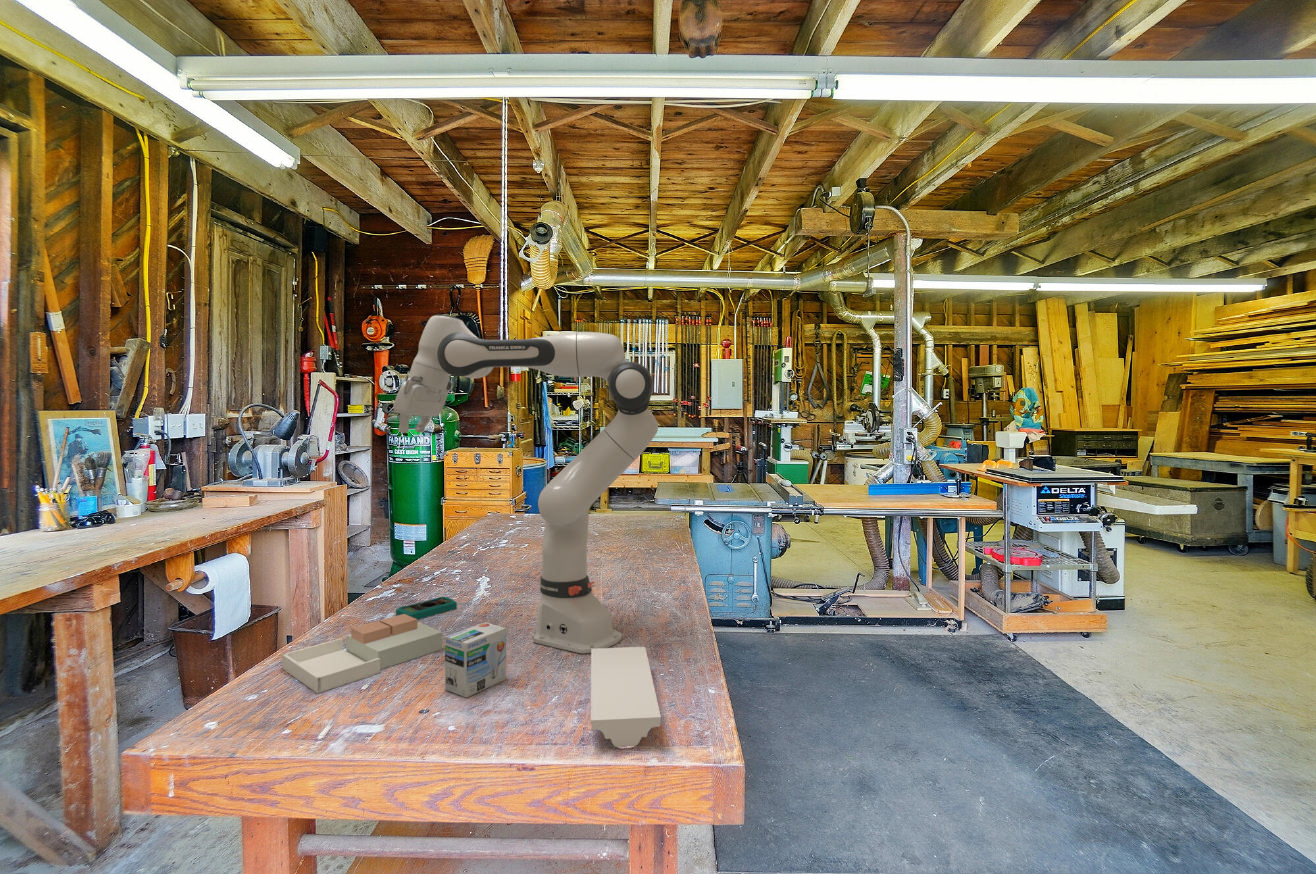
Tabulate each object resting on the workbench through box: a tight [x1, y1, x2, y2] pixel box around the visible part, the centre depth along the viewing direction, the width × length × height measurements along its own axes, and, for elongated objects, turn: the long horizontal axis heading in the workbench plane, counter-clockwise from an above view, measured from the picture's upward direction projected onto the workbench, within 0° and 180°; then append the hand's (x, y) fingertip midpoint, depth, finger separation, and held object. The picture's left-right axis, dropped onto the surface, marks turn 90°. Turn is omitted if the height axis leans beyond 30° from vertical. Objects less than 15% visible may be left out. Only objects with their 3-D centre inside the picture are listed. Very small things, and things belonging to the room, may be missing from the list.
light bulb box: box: [444, 621, 507, 698], centre depth 120 cm, size 11×7×11 cm, turn 148°
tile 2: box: [379, 614, 418, 636], centre depth 140 cm, size 6×6×2 cm
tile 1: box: [350, 620, 390, 644], centre depth 135 cm, size 6×6×2 cm
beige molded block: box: [590, 646, 662, 748], centre depth 113 cm, size 12×30×5 cm, turn 6°
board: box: [345, 621, 443, 670], centre depth 137 cm, size 15×15×4 cm
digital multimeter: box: [395, 596, 458, 621], centre depth 164 cm, size 7×15×3 cm, turn 142°
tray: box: [281, 637, 381, 694], centre depth 126 cm, size 18×12×3 cm
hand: (411, 432), depth 147 cm, fingers open, 8 cm apart
